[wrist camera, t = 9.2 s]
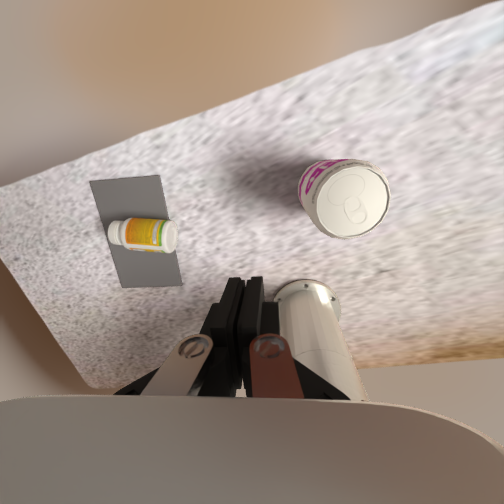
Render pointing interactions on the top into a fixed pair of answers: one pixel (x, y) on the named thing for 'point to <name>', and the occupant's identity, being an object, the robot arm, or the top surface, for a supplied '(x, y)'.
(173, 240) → the supplement bottle
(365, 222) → the supplement can
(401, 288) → the top surface
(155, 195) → the mat
